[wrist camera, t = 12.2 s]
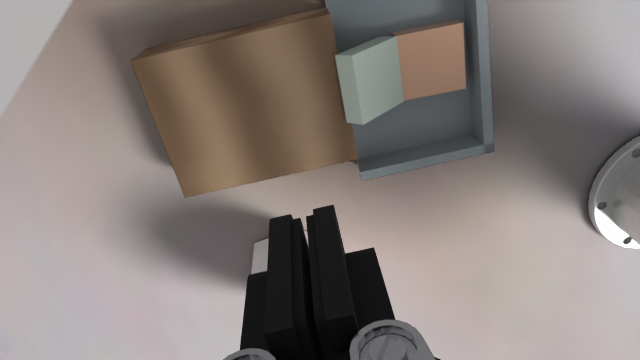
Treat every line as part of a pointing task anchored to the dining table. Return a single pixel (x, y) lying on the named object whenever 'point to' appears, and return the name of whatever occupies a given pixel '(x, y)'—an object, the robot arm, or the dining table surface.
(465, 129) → the tray
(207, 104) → the tan cardboard box
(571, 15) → the dining table surface
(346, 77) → the sage tile
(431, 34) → the terracotta tile
